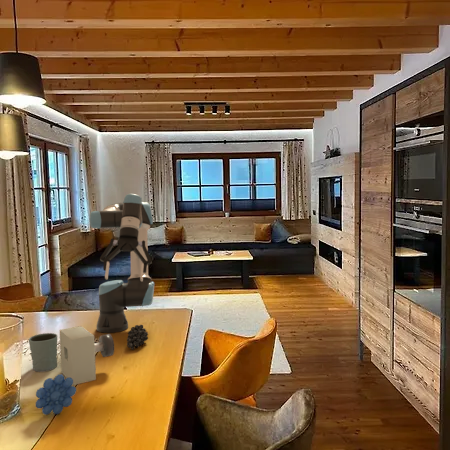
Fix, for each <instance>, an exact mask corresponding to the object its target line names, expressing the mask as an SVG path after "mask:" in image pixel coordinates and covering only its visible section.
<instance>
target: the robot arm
mask: <svg viewBox="0 0 450 450" xmlns="http://www.w3.org/2000/svg"><path fill="white" fill-rule="evenodd" d="M152 214H153V213H152V208H151V204H150V203H149V202H147V201H145V202H144V201H143V200H142V197H141V196H140V195H138V194H135V193H128V194H126V195H125V196H124V198H123V202H116V203H113V204H110V205H107V206H105V207H104V208H103V210H93V211H91V212H90V214H89V225H90V227H91V228H92V229H111V228H112V229H113V228H114V229H116V228H117V229H118V228H119V236H118V237H119V238H118V239H117V240H116V239H114V238H111V239H110V242H109V244H108V245H107V247H105V250H104V252H103V253H102V254H101V256H100V257H99V260H100V262H103V271H105V273H104V279H105V280H108V279H109V272H110V271H109V270H110V265H111V264H110V262H111V261H112V259H114V258H115V257H116V256H117V255H118V254H119V253H121V252H129V253H130V276H128V278H127V282H124V280H122V279H116V280H110V281H109V280H108V281H105V282H103V283H101V284H100V285H99V287H98V302H99V316H98V319H97V322H96V325H95V326H96V331H97V332H99V333H103V334H104V333H106V334H111V333H119V332H123V331H125V330H127V329H128V328H129V322H128V319H127V317H126V314H125V308H129V307H132V308H133V307H147V306H151V305H152V303H153V300H154V293H155V282H154V281H152V277H150V275H149V265H151V264H153V262H152V258H151V256H150V254H149V252H148V251H149V248H148V230H150V228H151V225H153V224H154V220H153V215H152ZM116 244H117V247H116V248H115V249H114V250H113V251H112V249H113V247H114V246H116ZM111 251H112V252H111ZM110 252H111V253H110Z"/></svg>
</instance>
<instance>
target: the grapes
mask: <svg viewBox="0 0 450 450" xmlns="http://www.w3.org/2000/svg"><path fill="white" fill-rule="evenodd" d="M76 392H77V388H76V387H75V385H73V379H72V378H70V377H69V378H65V375H64V374H63V373H61V374H57V375H56V376H55V377H54V379H53V378H51V377H49V378H46V379H45V380H44V382H43V386H42V387H39V388H38V389H37V390H36V392H35V396H36V397H37V400H36V401H35V407H36V408H37V409H40V410H41V411H42V412H41V413H42V414H43V415H45V416H47V415H50V414H51V413H53V414H54V415H59V414H60V413H62V411H63V409H64V408H68V407H70V406H72V403H73V398H72V397H73V396H75V395H76Z"/></svg>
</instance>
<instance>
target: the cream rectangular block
mask: <svg viewBox="0 0 450 450" xmlns="http://www.w3.org/2000/svg"><path fill="white" fill-rule="evenodd" d="M95 343H96V342H95V335H94V334H93V333H91V332H90V331H89V330H87V329H86V328H85V327H83V326H82V325H79V326H74V327H67V328H62V329H59V346H60V347H59V348H60V368H61V370H60V371H61V374H62V375H63V376H64V378H65V377H66V378H69V377H70V378H72V379H73V384H72V386H76V385H80V384H83V383H88V382H92V381H96V380H97V374H96V373H97V371H96V368H97V367H96V352H95ZM66 378H65V379H66Z"/></svg>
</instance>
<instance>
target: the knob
mask: <svg viewBox="0 0 450 450" xmlns="http://www.w3.org/2000/svg"><path fill="white" fill-rule="evenodd" d="M113 338H114V337H113V336H112V334H111V333H106V334H102V335H100V336H99V339H98V342H94V343H95V353H98V352H100V353H101V356H102V357H103V358H106V357H111V356H113V355H114V354H115V342H114V339H113Z"/></svg>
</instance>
